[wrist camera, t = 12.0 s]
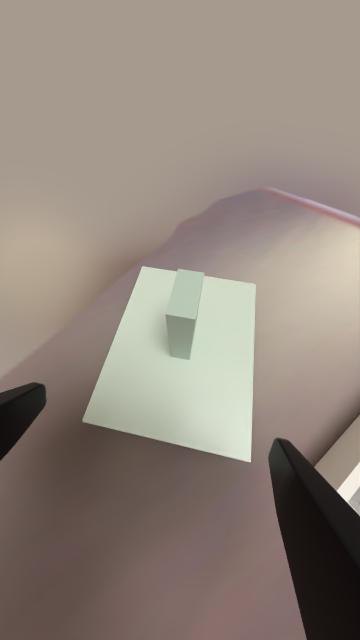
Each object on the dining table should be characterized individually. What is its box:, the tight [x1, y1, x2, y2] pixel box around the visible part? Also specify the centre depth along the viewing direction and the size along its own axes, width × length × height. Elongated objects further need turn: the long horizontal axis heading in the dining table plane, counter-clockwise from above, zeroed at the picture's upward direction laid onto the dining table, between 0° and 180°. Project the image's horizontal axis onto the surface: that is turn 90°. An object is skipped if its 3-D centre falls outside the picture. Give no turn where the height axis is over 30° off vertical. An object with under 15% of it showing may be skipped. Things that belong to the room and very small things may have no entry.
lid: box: [82, 266, 256, 462], centre depth 18 cm, size 15×19×11 cm
